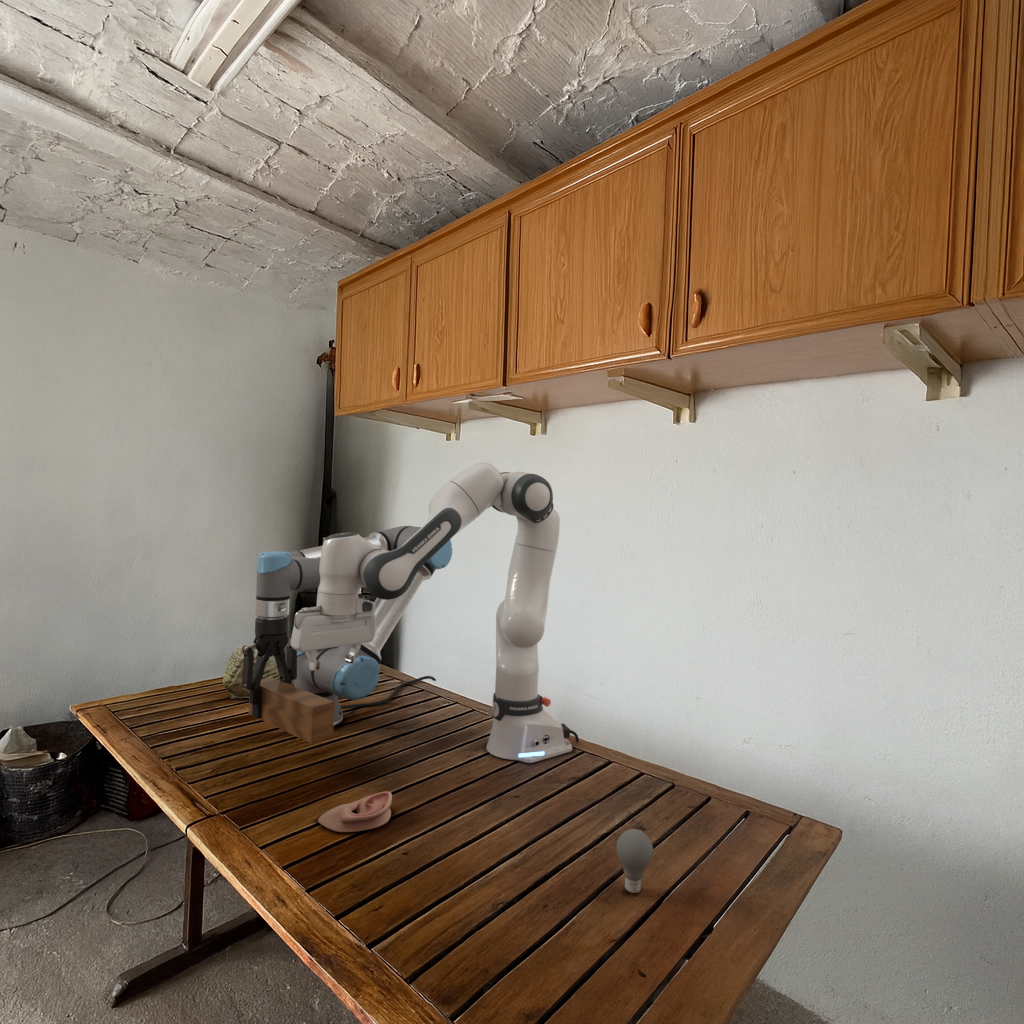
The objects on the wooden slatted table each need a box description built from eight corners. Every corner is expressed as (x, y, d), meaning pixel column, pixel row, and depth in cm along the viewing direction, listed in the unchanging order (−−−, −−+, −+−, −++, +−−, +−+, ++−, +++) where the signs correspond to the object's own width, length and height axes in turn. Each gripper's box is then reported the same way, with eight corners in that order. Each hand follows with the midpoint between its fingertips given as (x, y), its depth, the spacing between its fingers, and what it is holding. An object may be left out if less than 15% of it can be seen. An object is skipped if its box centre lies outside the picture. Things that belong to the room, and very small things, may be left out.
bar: (248, 714, 151) (249, 681, 151) (269, 708, 156) (271, 677, 156) (311, 743, 135) (312, 707, 135) (333, 736, 140) (334, 701, 139)
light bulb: (610, 879, 108) (613, 822, 108) (644, 879, 109) (647, 822, 109) (619, 902, 102) (622, 840, 102) (655, 901, 103) (658, 840, 103)
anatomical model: (310, 807, 121) (339, 781, 132) (309, 827, 121) (338, 800, 132) (375, 817, 118) (398, 790, 129) (374, 838, 118) (398, 809, 129)
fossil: (218, 695, 195) (220, 647, 195) (278, 685, 208) (279, 640, 207) (228, 703, 189) (230, 653, 188) (289, 692, 201) (290, 645, 201)
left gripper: (243, 624, 141) (239, 727, 141) (315, 614, 155) (311, 708, 156) (226, 619, 145) (222, 719, 146) (298, 610, 160) (294, 701, 160)
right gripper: (304, 610, 131) (299, 677, 132) (381, 603, 147) (377, 662, 147) (287, 605, 135) (282, 670, 135) (364, 599, 151) (360, 656, 151)
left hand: (268, 713), depth 151 cm, fingers closed on bar, 5 cm apart
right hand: (332, 666), depth 142 cm, fingers open, 8 cm apart
